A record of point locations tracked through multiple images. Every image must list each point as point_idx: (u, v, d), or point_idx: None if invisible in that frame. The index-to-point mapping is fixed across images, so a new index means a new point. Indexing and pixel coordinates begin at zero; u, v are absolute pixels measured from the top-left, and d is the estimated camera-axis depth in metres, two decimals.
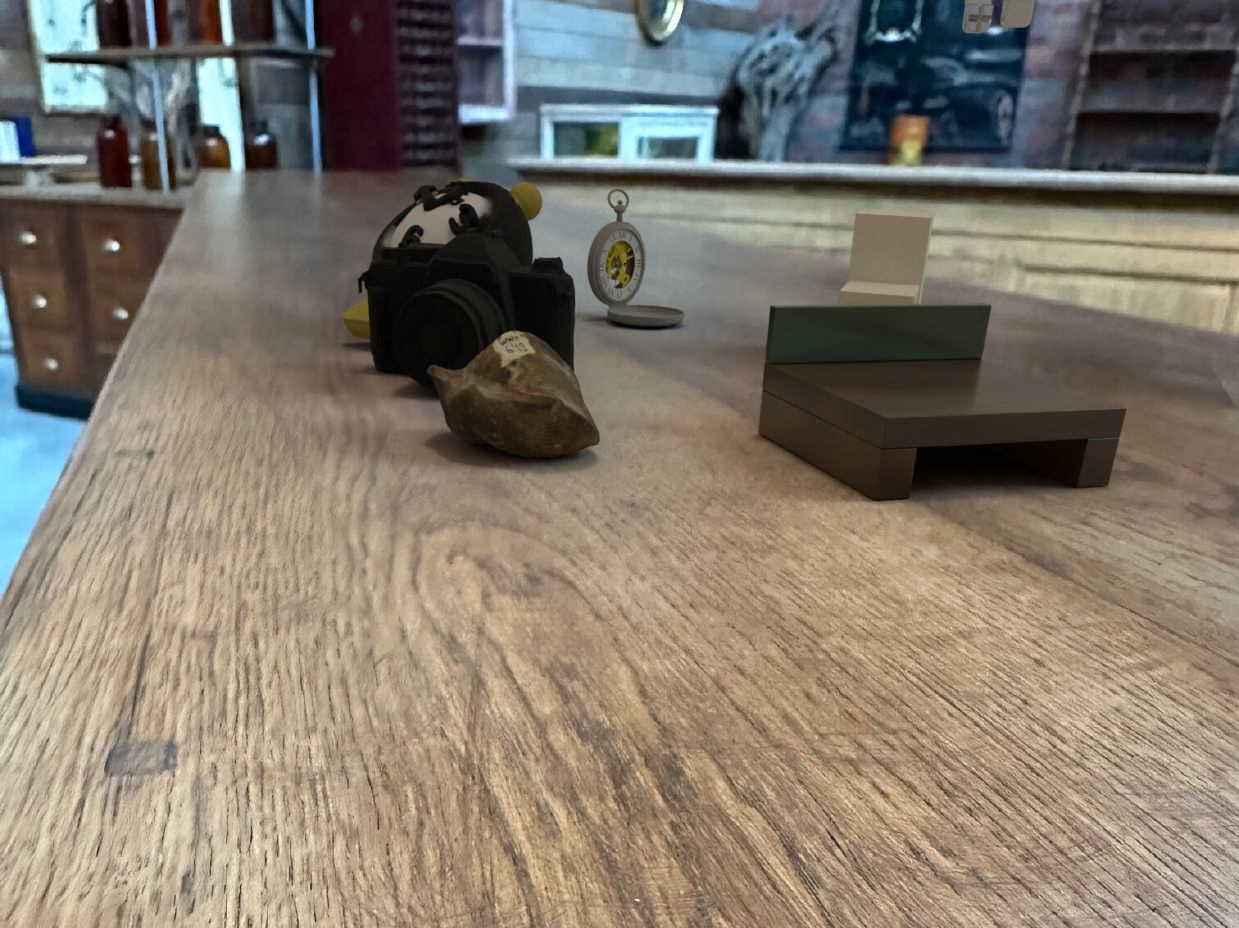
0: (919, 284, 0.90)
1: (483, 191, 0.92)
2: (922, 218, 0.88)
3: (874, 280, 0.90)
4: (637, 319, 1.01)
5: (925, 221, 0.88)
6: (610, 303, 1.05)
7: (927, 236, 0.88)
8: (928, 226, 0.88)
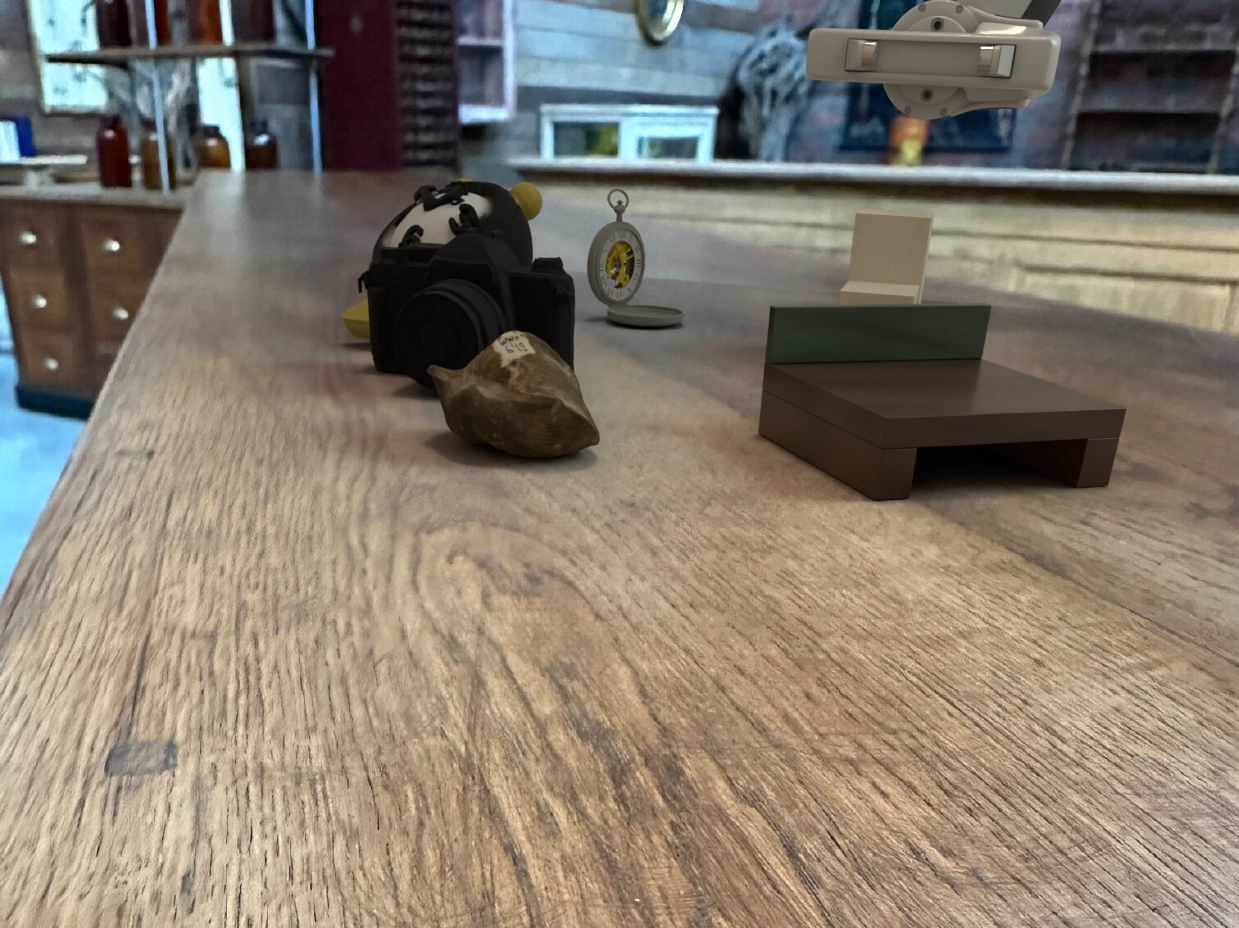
0: (919, 284, 0.90)
1: (483, 191, 0.92)
2: (922, 218, 0.88)
3: (874, 280, 0.90)
4: (636, 319, 1.01)
5: (925, 221, 0.88)
6: (610, 303, 1.05)
7: (927, 236, 0.88)
8: (928, 226, 0.88)
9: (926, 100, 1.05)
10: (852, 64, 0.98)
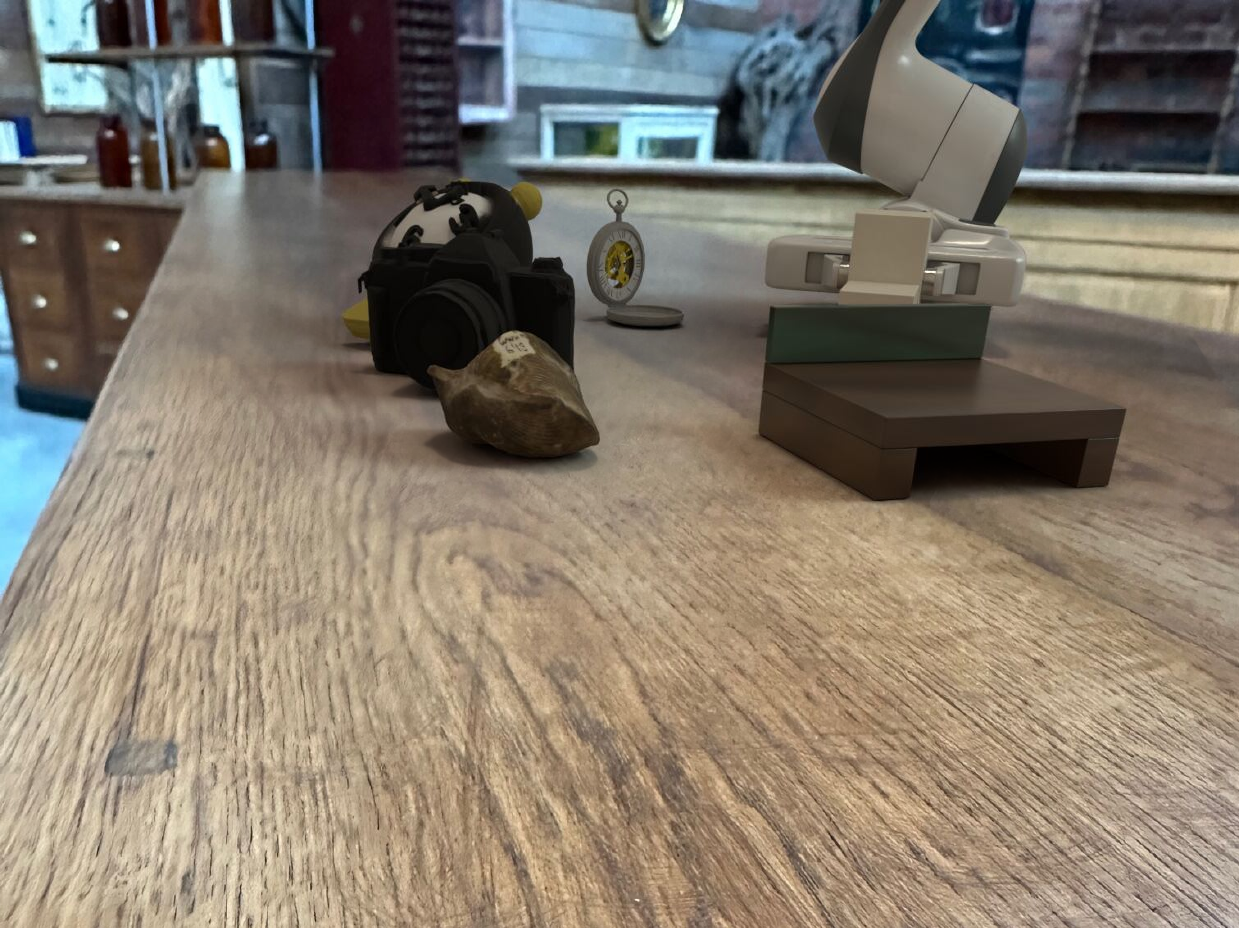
0: (919, 284, 0.90)
1: (483, 191, 0.92)
2: (922, 218, 0.88)
3: (874, 280, 0.90)
4: (636, 319, 1.01)
5: (925, 221, 0.88)
6: (609, 303, 1.05)
7: (927, 236, 0.88)
8: (928, 226, 0.88)
9: None
10: (828, 282, 0.95)
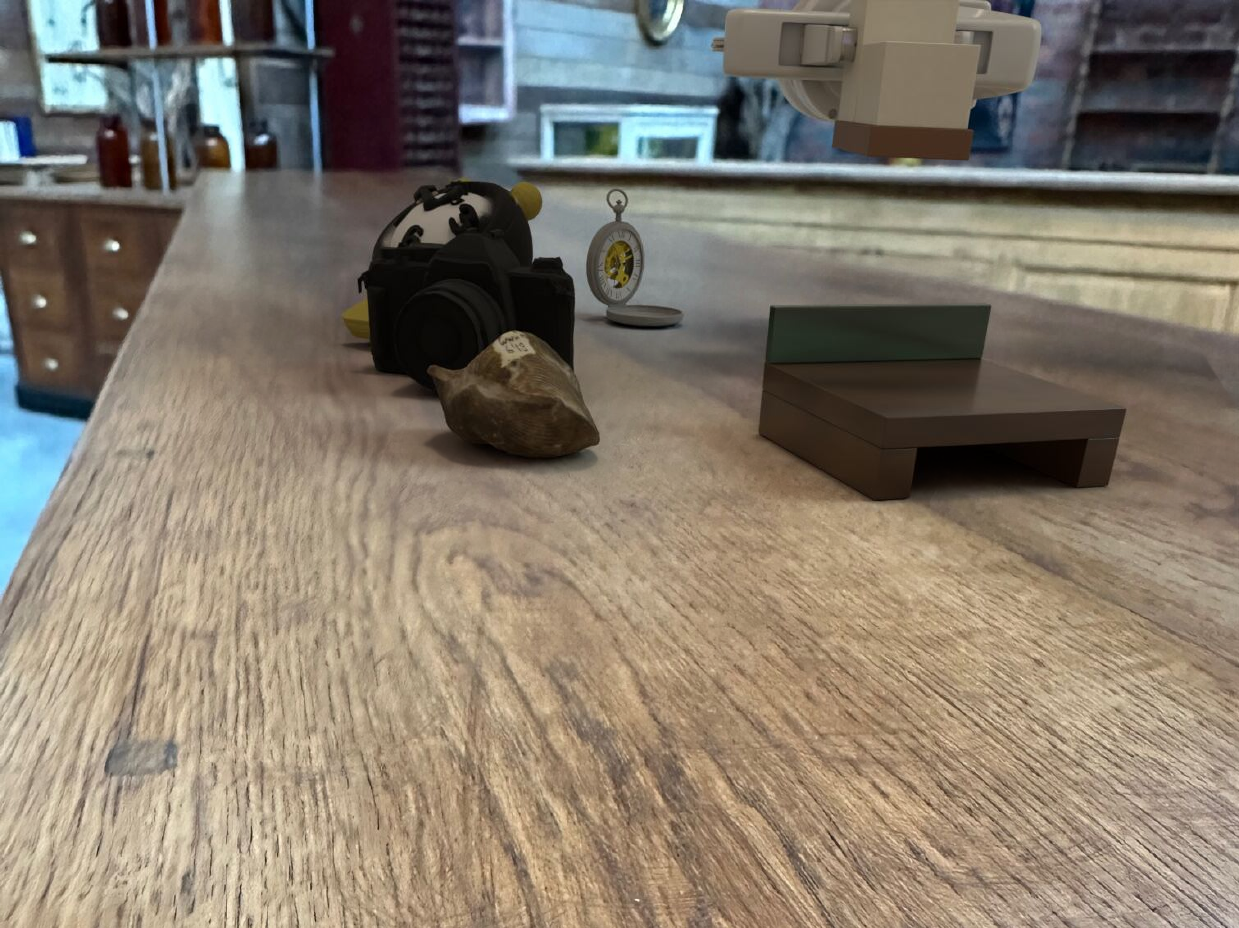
0: None
1: (483, 191, 0.92)
2: None
3: None
4: (635, 319, 1.01)
5: None
6: (609, 303, 1.05)
7: None
8: None
9: None
10: (818, 57, 0.75)
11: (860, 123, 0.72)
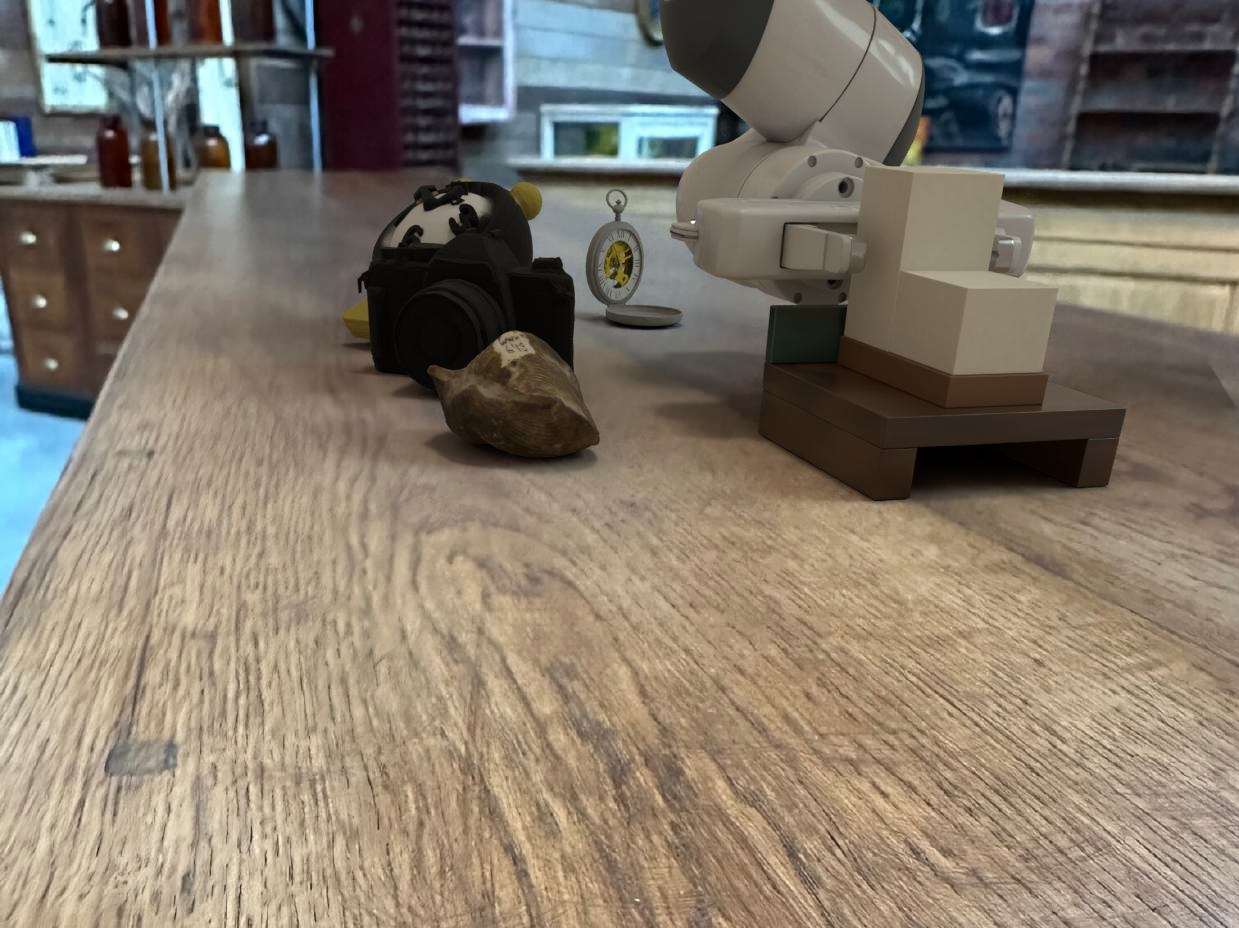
0: (987, 269, 0.64)
1: (483, 191, 0.92)
2: (995, 176, 0.62)
3: (932, 268, 0.63)
4: (635, 319, 1.01)
5: (998, 180, 0.62)
6: (608, 303, 1.05)
7: (999, 201, 0.63)
8: (1001, 187, 0.62)
9: (831, 286, 0.75)
10: (812, 264, 0.65)
11: (906, 358, 0.64)
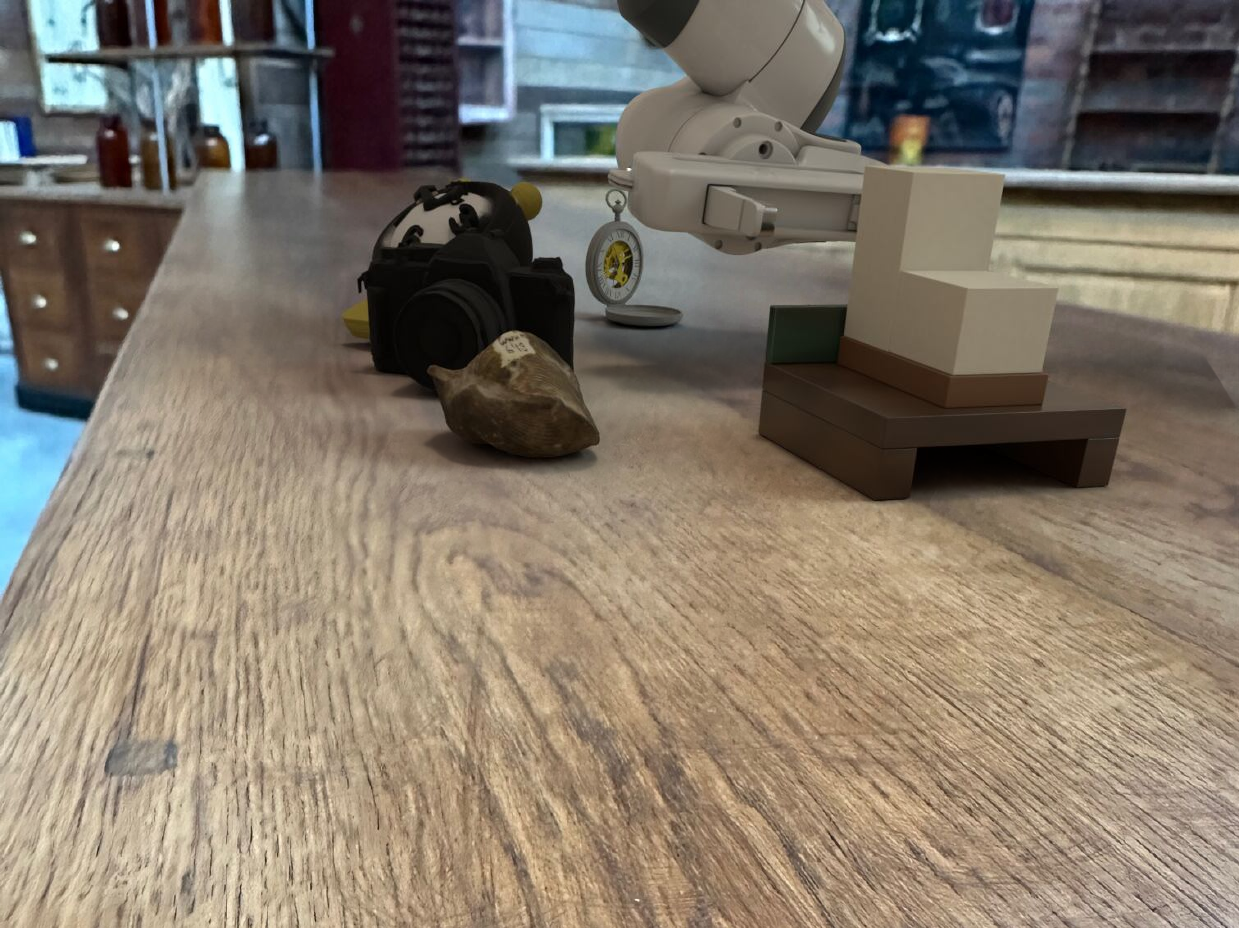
0: (987, 269, 0.64)
1: (483, 191, 0.92)
2: (995, 176, 0.62)
3: (932, 268, 0.63)
4: (635, 319, 1.01)
5: (998, 180, 0.62)
6: (608, 303, 1.05)
7: (999, 201, 0.63)
8: (1001, 187, 0.62)
9: (748, 237, 0.84)
10: (730, 225, 0.75)
11: (906, 358, 0.64)
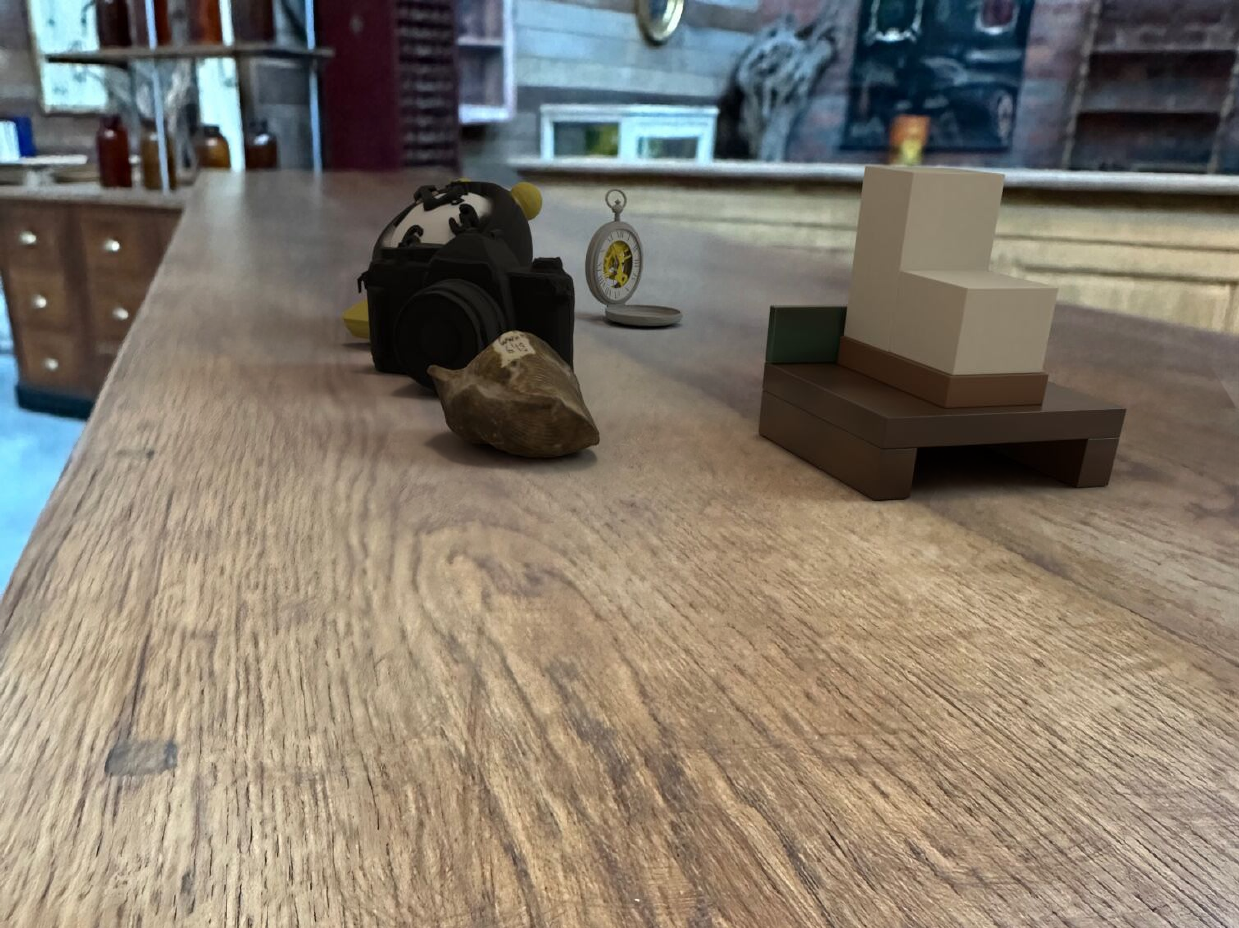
0: (987, 269, 0.64)
1: (483, 191, 0.92)
2: (995, 176, 0.62)
3: (932, 268, 0.63)
4: (634, 318, 1.01)
5: (998, 180, 0.62)
6: (608, 303, 1.05)
7: (999, 201, 0.63)
8: (1001, 187, 0.62)
9: None
10: None
11: (906, 358, 0.64)
